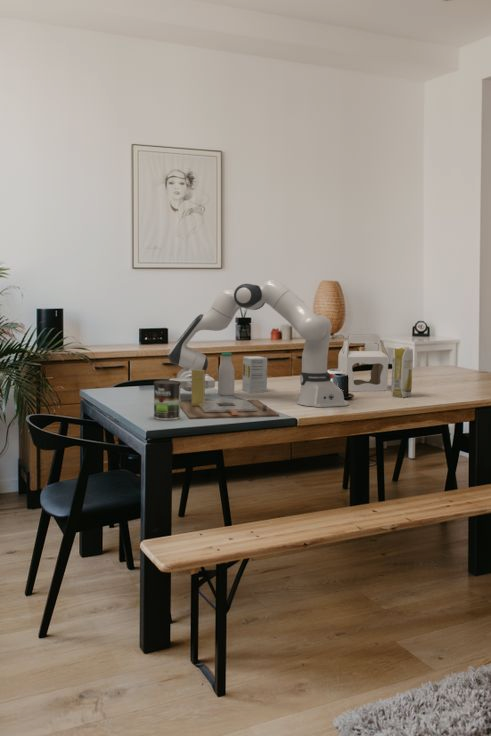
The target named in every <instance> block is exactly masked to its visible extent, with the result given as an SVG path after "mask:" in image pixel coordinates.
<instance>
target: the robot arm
mask: <svg viewBox="0 0 491 736" xmlns="http://www.w3.org/2000/svg"><path fill="white" fill-rule="evenodd" d="M265 304H267V305H268V306H270V307H271V308H272V309H273V310H274V311H276V312H277V313H278V314H279V315H280V316H282V318H284V319H285V320H286V321H287V322H288V324H290V326H291V327H292V328H293V329H294V330H295V331H296V333H298V334H299V336H300V338H302V340H304V345H303V350H302V354H301V371H300V376H299V379H300V380H299V382H300V383H299V384H300V391H299V394H298V399H297V404H298V405H300V406H306V407H315V408H330V407H331V408H333V407H346V406H349V405H350V402H349V401H347V400H345V397H344V392H343V390H342V389H340V388H339V387H338V385H337V384H335V383H334V382H333V381H332V379H333V380H334V378H335V377H336V376H335V374H334V373H329V372H328V355H329V354H328V353H329V347H330V341H331V335H332V334H331V333H332V329H333V325H332V322H331V320H330V319H329V318H328V317H327V316H325V315H322V314H316V313H314V312H313V311H312V310H311V308H310V307H308V305H307V304H306V302H305V301H304V300H303V299H301V298H300V297H299V296H298V295H297V294H295V293H294V292H293V291H292V290H291V289H289V287H287V286H285V285H284V284H282V283H281V282H279V281H278V280H275V279H273V278H272V279H268V280H266V281H264V282H263V284H262V285H261V286H259V285H257V284H252V283H242V284H240V285H238V286H237V287H236V288H235V289H231V288H225V289H223V290H222V291H221V292H220V293H219V295H218V296H217V297H216V298H215V300H214V302H213V303H212V304H211V305H212V306H211V307H210V308H209V310H208V311H207V312H205V313H203V314H201V313H200V314H199V315H198V316H196V317H195V318H194V320H192V322H191V323H190V324H189V326H188V327H187V329H185V330H184V332H183V333H182V334H181V336H180V337H179V338H178V340H177V341H175V343H174V344H173V345H172V346H171V347H170V349H169V350H168V354H167V358H168V360H169V362H170V364H173V365H176V366H179V367H181V369H180V370H179V371H178V372H177V375H176V378H169V379H168V380H174V381H180V382H181V384H180V389H183V390H184V391H186V392H188V393H189V392H190V393H192V370H205V372H206V371H207V369H208V366H209V361H208V357H207V355H205V354H204V353H202V352H200V351H198V350H196V349H193V348H191V347H189V346H188V343H189V342H190V341H191V339H193V337H195V335H196V333H198V332H200V331H206V330H207V331H211V332H212V331H214V332H217V331H222V330H225V329H227V328H228V327H229V326H230V324H231V323H232V321H233V319H234V318H235V315H236V313H237V311H239V309H242V308H243V309H246V310H250V311H256V310H260V309H261V308H263V307H264V305H265ZM215 386H216V380H215V379H214V377H212V376H210V375H209V374H208V373H205V390H206V389H210V388H211V389H214V388H215Z"/></svg>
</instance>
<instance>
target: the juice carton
mask: <svg viewBox="0 0 491 736" xmlns="http://www.w3.org/2000/svg"><path fill="white" fill-rule="evenodd" d="M392 351H393V352H392V359H391V361H392V363H391V364H392V365H391V366H392V367H391V385H390V386H391V387H390V390H391V391H390V392H391V393H390V394H391V397H393V396H395V397H394V398H402V397H404V398H408V397H410V396H412V395H411V394H412V388H413V387H412V384H413V363H414V352H413V351H414V350H413V348H410V347H409V346H407V345H406V346H403V347H399V348H393V350H392ZM407 396H408V397H407Z"/></svg>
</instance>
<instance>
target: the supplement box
mask: <svg viewBox="0 0 491 736" xmlns="http://www.w3.org/2000/svg"><path fill="white" fill-rule="evenodd" d="M267 385H268V357H265V356H260V355H259V356H257V355H256V356H253V355H252V356H243V357H242V391H244V392H247V393H249V394H254V393H267V392H268V391H267V390H268V389H267V388H268V386H267Z"/></svg>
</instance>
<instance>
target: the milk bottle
mask: <svg viewBox="0 0 491 736" xmlns="http://www.w3.org/2000/svg"><path fill="white" fill-rule="evenodd" d="M217 371H218V373H217V374H218V375H217V377H218V378H217V394H218V395H219V396H225V397H226V396H234V395H235V367H234V364H233V361H232V352H229V351H228V352H227V351H226V352H222V353H221V362H220V364H219V367H218V370H217Z"/></svg>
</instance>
